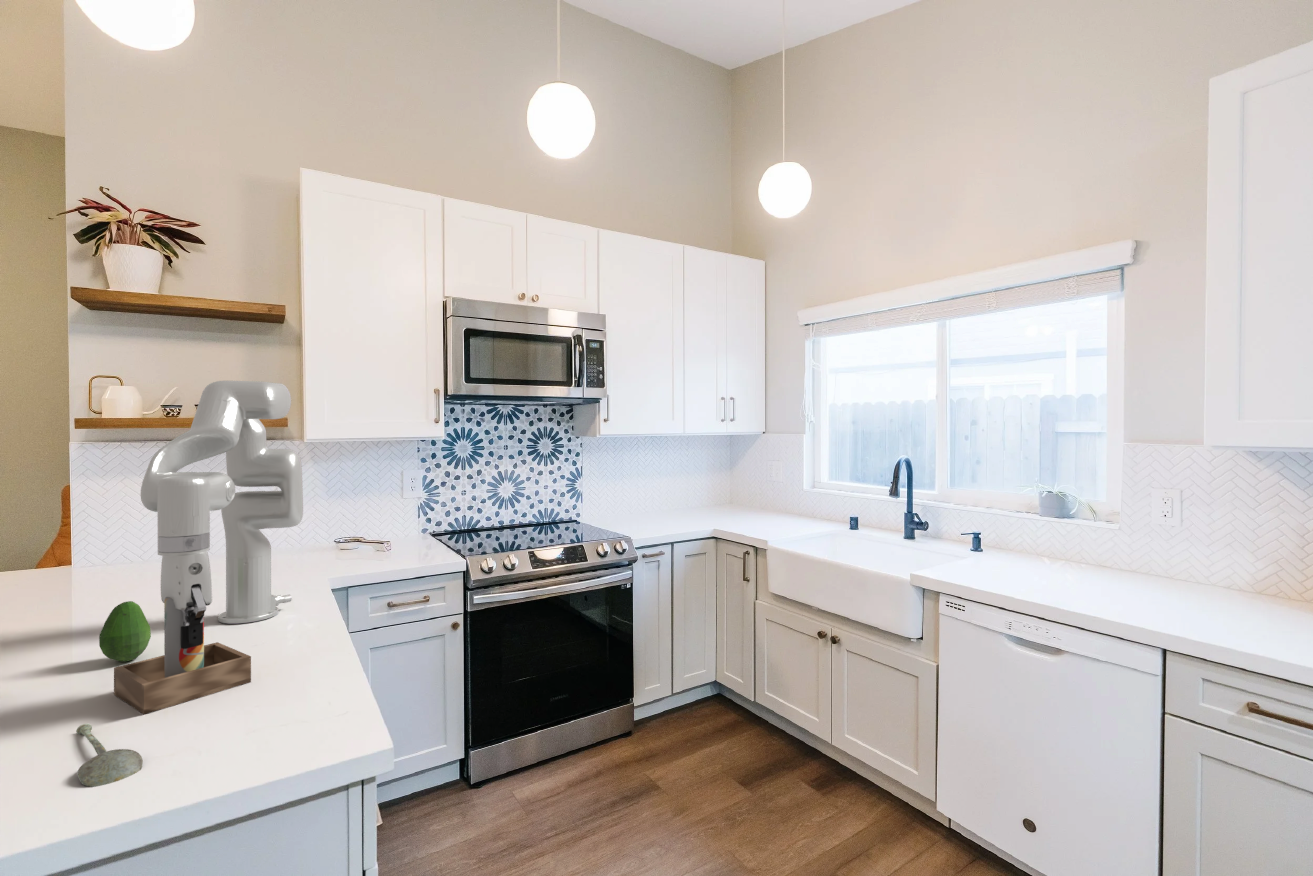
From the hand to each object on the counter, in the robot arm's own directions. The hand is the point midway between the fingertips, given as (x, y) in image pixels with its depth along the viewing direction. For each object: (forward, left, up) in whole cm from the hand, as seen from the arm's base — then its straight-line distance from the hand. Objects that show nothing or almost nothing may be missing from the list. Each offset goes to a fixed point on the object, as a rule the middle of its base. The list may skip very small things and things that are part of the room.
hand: (184, 642), depth 112 cm
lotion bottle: (0, 0, -7) cm, 7 cm away
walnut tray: (0, 0, -8) cm, 8 cm away
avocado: (+1, -26, -9) cm, 27 cm away
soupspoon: (+16, +17, -9) cm, 26 cm away
